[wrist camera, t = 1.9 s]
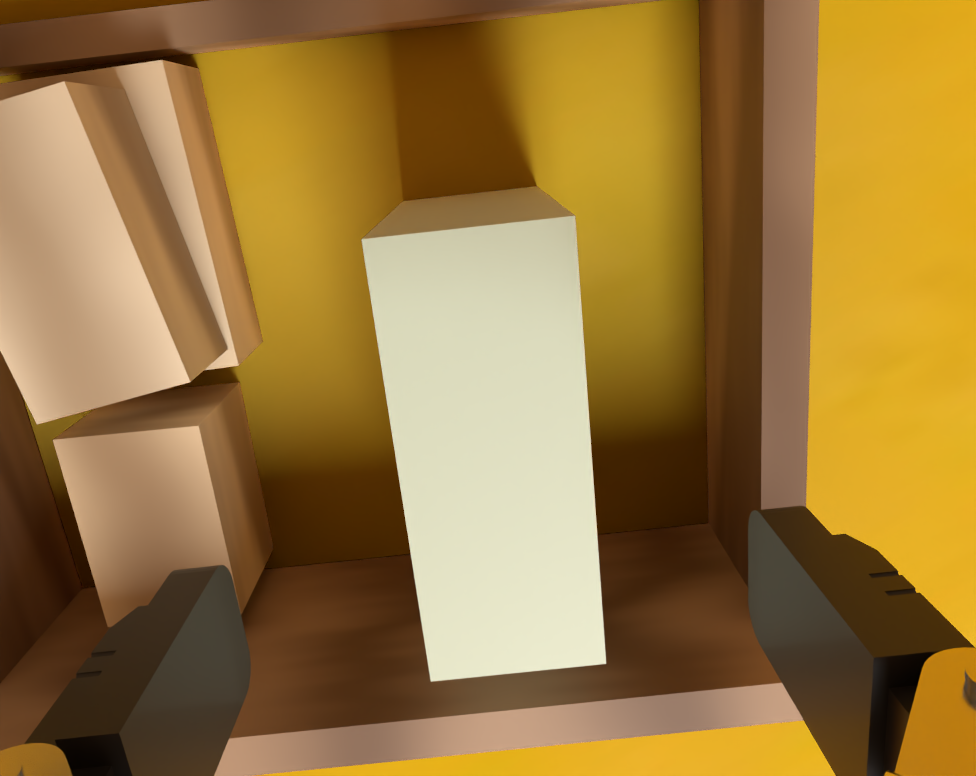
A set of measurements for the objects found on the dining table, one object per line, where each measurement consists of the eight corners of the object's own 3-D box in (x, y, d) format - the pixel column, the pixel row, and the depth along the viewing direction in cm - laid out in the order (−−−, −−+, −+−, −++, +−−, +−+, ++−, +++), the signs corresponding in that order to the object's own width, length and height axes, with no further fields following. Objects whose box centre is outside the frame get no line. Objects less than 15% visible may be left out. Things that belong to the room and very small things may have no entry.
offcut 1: (202, 69, 22) (161, 59, 19) (265, 338, 24) (238, 365, 22) (31, 94, 22) (-35, 88, 19) (111, 359, 24) (64, 389, 22)
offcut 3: (241, 380, 25) (198, 425, 21) (274, 545, 26) (241, 614, 23) (117, 392, 25) (52, 439, 21) (159, 556, 26) (107, 626, 23)
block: (536, 186, 23) (575, 215, 14) (562, 489, 26) (606, 663, 17) (403, 200, 23) (361, 239, 14) (444, 501, 26) (430, 681, 17)
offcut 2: (124, 89, 19) (64, 80, 16) (228, 349, 21) (190, 381, 18) (-23, 134, 19) (-108, 134, 17) (94, 386, 22) (37, 424, 19)
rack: (742, -50, 21) (896, -157, 13) (743, 550, 27) (851, 715, 19) (-132, 51, 21) (-469, 3, 14) (57, 621, 27) (-105, 810, 19)
